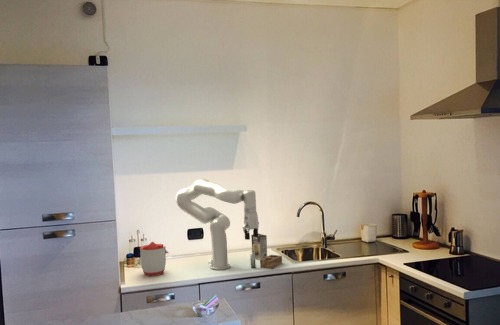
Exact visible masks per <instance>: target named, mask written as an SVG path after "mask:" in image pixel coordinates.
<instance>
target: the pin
mask: <svg viewBox="0 0 500 325" xmlns="http://www.w3.org/2000/svg"><path fill="white" fill-rule="evenodd" d="M249 253H250V255H249V257H250V269H256V259H255V252H254V251H252V250H251V251H250V252H249Z"/></svg>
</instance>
